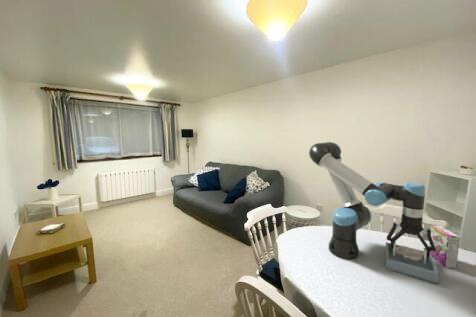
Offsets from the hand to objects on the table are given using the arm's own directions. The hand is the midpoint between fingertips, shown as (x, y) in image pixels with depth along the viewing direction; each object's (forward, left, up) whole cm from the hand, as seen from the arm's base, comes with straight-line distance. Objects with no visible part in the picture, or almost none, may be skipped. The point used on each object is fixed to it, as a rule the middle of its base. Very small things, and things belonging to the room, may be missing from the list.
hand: (408, 257), depth 97 cm
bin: (0, 0, -4) cm, 4 cm away
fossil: (0, 0, -1) cm, 1 cm away
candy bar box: (+14, +13, -4) cm, 20 cm away
